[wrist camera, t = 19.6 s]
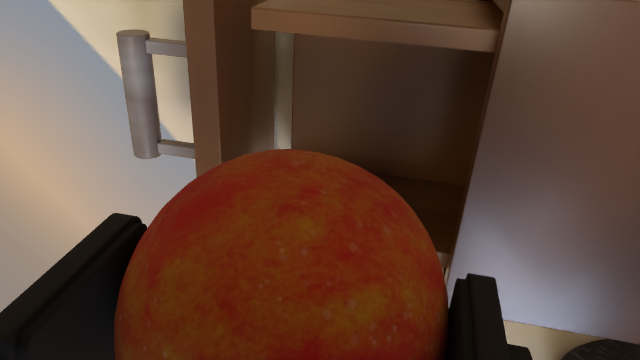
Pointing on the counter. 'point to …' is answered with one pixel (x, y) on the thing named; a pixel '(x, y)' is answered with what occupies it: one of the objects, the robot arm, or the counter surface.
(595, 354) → the travel mug
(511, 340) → the counter surface
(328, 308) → the fruit
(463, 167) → the drawer
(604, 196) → the cabinet
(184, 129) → the counter surface
